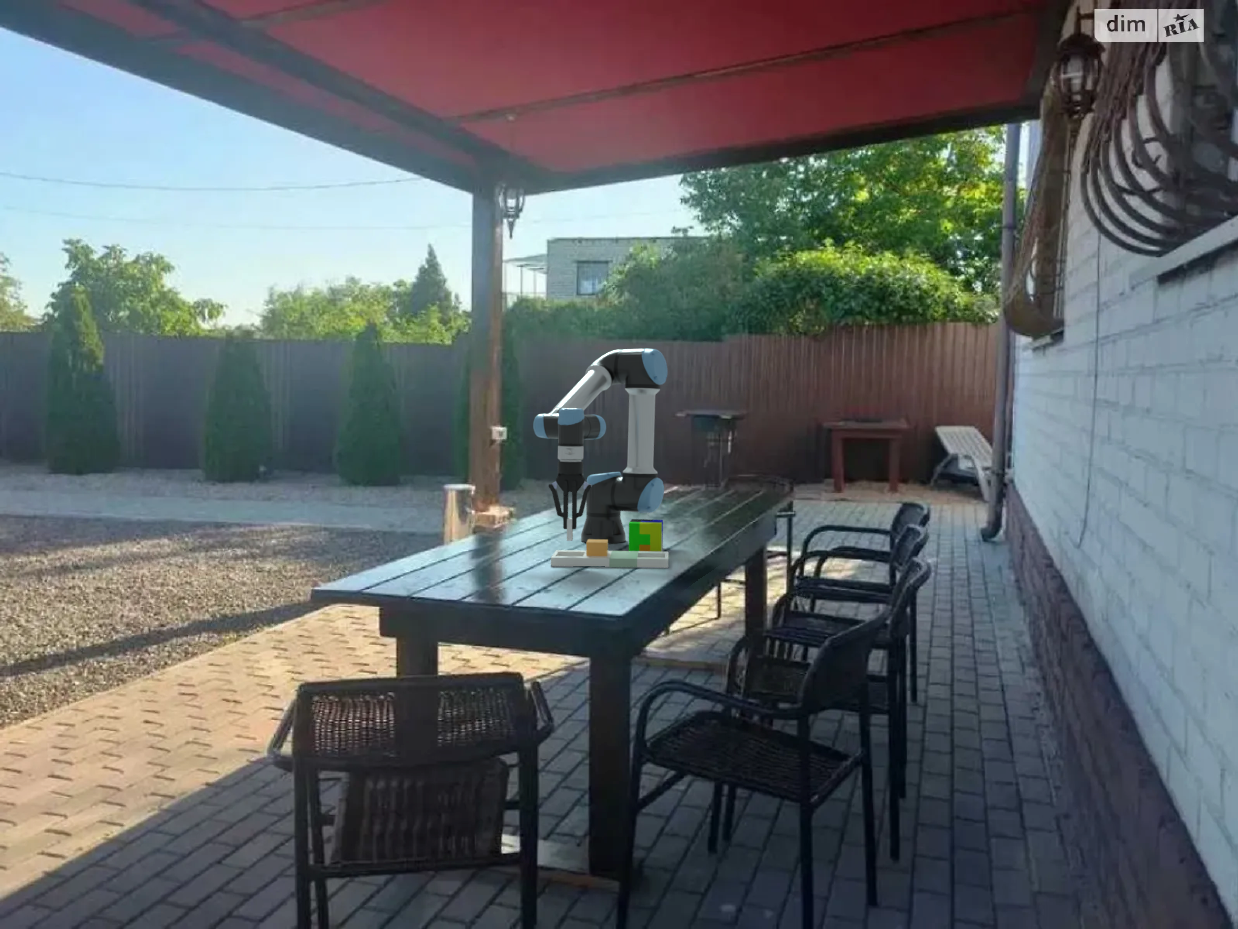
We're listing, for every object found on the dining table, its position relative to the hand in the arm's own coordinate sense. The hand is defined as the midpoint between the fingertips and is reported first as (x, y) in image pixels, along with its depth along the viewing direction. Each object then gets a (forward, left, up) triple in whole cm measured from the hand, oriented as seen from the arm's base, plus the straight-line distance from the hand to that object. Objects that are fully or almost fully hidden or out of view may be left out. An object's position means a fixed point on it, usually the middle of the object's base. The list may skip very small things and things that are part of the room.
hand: (569, 540), depth 298 cm
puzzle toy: (-20, +22, -7) cm, 31 cm away
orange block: (0, +8, -4) cm, 9 cm away
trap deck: (0, +12, -7) cm, 14 cm away
